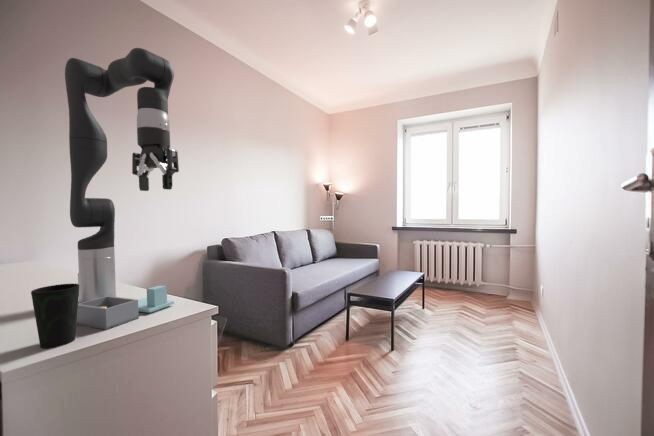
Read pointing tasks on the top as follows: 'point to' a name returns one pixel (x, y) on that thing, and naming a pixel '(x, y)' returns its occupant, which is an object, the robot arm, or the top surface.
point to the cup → (56, 314)
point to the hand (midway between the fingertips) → (155, 190)
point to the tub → (107, 312)
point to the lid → (154, 300)
